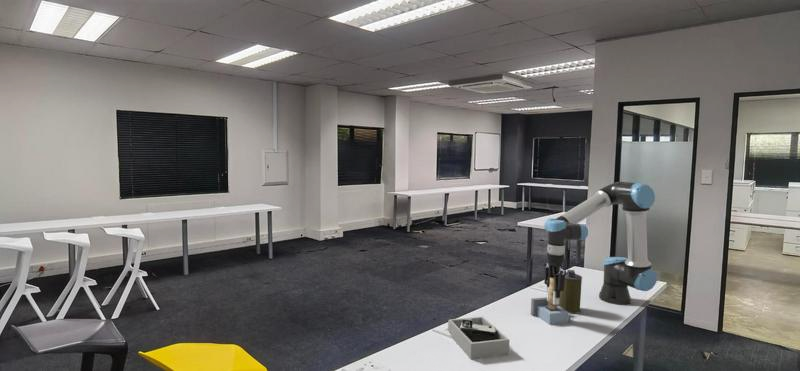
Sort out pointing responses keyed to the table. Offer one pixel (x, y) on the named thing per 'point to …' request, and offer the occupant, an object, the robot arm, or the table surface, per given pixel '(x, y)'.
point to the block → (552, 315)
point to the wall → (538, 304)
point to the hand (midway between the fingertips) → (552, 302)
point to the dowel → (551, 295)
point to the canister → (571, 292)
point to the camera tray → (478, 348)
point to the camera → (478, 331)
